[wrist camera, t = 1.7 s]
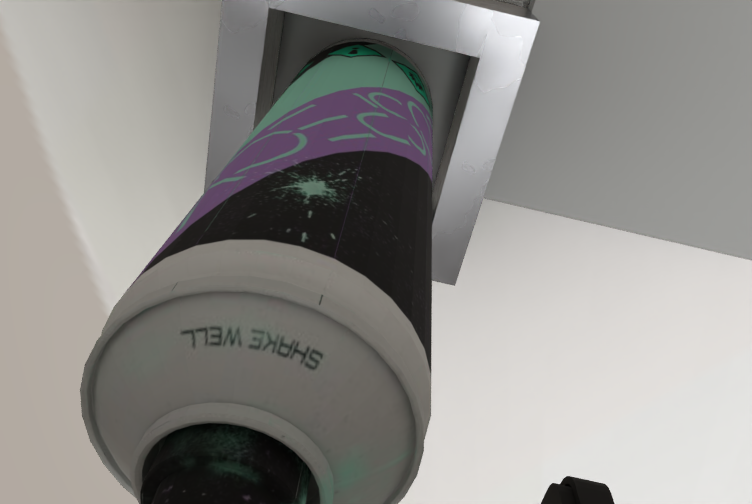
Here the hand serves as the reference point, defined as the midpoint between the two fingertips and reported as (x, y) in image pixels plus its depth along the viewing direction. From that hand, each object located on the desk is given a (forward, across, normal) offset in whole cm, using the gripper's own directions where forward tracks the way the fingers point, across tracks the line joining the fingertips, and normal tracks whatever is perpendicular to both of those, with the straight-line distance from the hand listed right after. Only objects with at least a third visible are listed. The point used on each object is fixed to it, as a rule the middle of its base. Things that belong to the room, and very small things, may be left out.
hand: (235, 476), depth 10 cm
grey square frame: (+18, 0, -1) cm, 18 cm away
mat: (+18, -11, -5) cm, 22 cm away
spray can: (+18, 0, -1) cm, 18 cm away
